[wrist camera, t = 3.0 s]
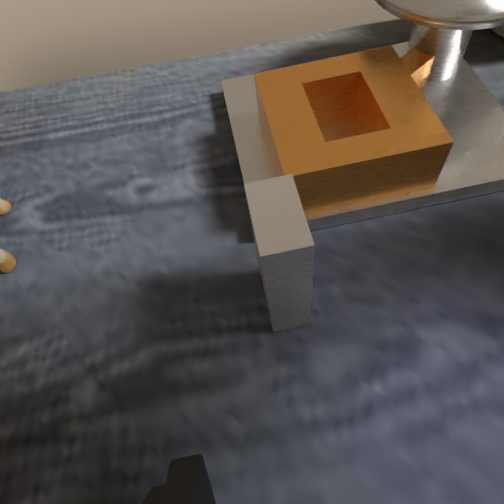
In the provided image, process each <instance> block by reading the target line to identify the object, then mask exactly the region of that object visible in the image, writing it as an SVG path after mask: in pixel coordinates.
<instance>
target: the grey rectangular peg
mask: <svg viewBox="0 0 504 504" xmlns="http://www.w3.org/2000/svg"><path fill="white" fill-rule="evenodd" d="M244 188H245V193H246V199H247V204H248V209H249V215H250V220H251V225H252V231H253V236H254V241H255V247H256V252H257V258H258V263H259V268H260V274H261V278H262V283H263V288H264V292H265V297H266V301H267V306H268V310H269V315H270V319H271V324H272V328H273V333H274V332H278V331H283V330H288V329H293V328H297V327H302V326H307V325H310V320H311V302H312V283H313V264H314V246H315V245H314V242H313V239H312V236H311V232H310V229H309V226H308V223H307V220H306V217H305V213H304V210H303V207H302V204H301V201H300V198H299V195H298V191H297V188H296V185H295V182H294V179H293V176H292V174H289V175H284V176H279V177H274V178H270V179H265V180H260V181H255V182H251V183H246V184H244Z"/></svg>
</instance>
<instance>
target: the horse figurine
mask: <svg viewBox="0 0 504 504" xmlns="http://www.w3.org/2000/svg"><path fill="white" fill-rule="evenodd" d="M11 208H12V206H11V203H9V202H8V201H6V200H3V199H1V198H0V215H5V214H7V213H8V212H9V211H10V210H11ZM15 266H16V260H15V258H14V256H13V255H12V254H10V253H8V252H6V251H5V250H2V249H0V271H1V272H3V273H8V272H10V271H12V270H13V268H14V267H15Z"/></svg>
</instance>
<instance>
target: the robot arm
mask: <svg viewBox="0 0 504 504" xmlns="http://www.w3.org/2000/svg"><path fill="white" fill-rule="evenodd" d="M142 504H216V503H215V499H214V496H213V492H212V489H211V485H210V481H209V478H208V474H207V470H206V467H205V463H204V460H203V457H202V455H201V454H196V455H192V456H187V457H182V458H178V459H173V460H171V462H170V466H169V471H168V476H167V481H166V484H164V485H160V486H155V487H152V488H151V490H150V491H149V493H148V495H147V496H146V498H145V499H144V501H143V502H142Z"/></svg>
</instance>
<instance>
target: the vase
mask: <svg viewBox="0 0 504 504" xmlns="http://www.w3.org/2000/svg"><path fill="white" fill-rule="evenodd" d="M491 30H492V31H493V32H494V33H495V34H497V35H498V36H500V37H502V38H504V25H503V26H499V27H494V28H491Z"/></svg>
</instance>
